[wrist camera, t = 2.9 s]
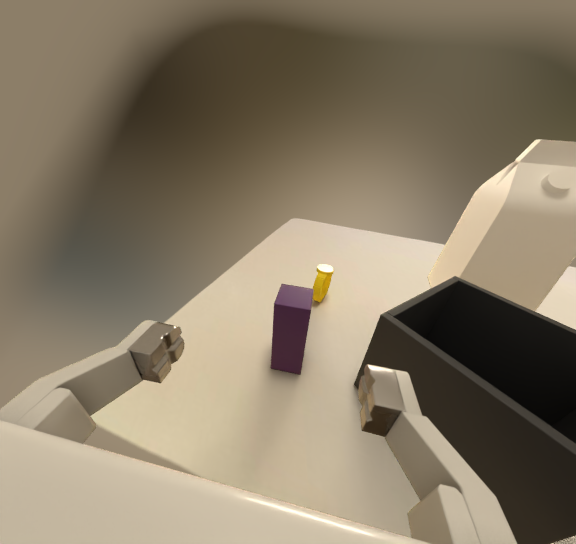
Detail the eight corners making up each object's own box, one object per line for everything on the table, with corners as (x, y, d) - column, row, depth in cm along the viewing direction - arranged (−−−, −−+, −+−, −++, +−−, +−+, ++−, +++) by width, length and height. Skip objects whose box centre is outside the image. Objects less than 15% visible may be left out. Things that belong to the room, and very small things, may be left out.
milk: (491, 291, 45) (589, 145, 32) (521, 329, 36) (678, 145, 23) (427, 277, 48) (492, 139, 35) (439, 309, 39) (535, 136, 26)
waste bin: (511, 556, 15) (654, 510, 10) (353, 384, 26) (380, 314, 20) (558, 432, 23) (656, 366, 17) (421, 337, 33) (454, 275, 27)
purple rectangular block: (300, 374, 26) (310, 310, 21) (270, 368, 27) (274, 303, 21) (303, 350, 29) (314, 288, 24) (277, 345, 30) (281, 283, 25)
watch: (321, 309, 37) (327, 279, 34) (306, 303, 38) (310, 273, 35) (332, 291, 41) (338, 263, 38) (318, 286, 42) (323, 259, 39)
